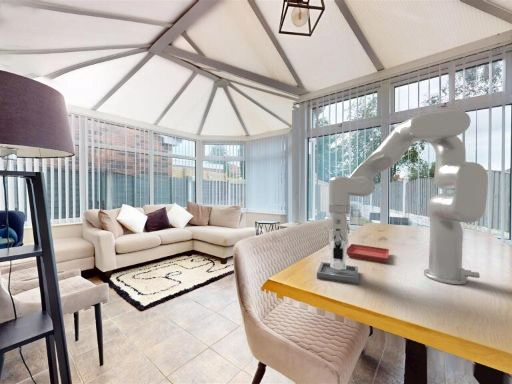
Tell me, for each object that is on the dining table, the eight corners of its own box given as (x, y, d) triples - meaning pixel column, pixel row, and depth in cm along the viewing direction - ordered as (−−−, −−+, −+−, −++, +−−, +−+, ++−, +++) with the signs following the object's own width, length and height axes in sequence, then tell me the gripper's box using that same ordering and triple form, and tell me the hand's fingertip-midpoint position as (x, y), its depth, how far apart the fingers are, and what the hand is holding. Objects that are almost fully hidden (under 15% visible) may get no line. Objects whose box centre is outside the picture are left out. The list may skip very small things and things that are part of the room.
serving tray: (357, 272, 91) (357, 266, 91) (358, 284, 79) (358, 278, 79) (321, 267, 97) (321, 261, 97) (316, 278, 85) (316, 272, 85)
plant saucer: (389, 255, 116) (389, 248, 116) (387, 265, 101) (387, 257, 101) (351, 249, 126) (351, 243, 126) (344, 258, 110) (344, 251, 110)
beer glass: (345, 264, 91) (345, 227, 91) (350, 271, 84) (351, 230, 84) (327, 264, 92) (327, 226, 91) (330, 270, 85) (331, 230, 84)
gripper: (349, 212, 78) (348, 264, 78) (350, 207, 94) (349, 251, 94) (326, 211, 81) (325, 261, 81) (330, 207, 97) (330, 249, 97)
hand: (338, 255), depth 88 cm, fingers closed on beer glass, 6 cm apart
